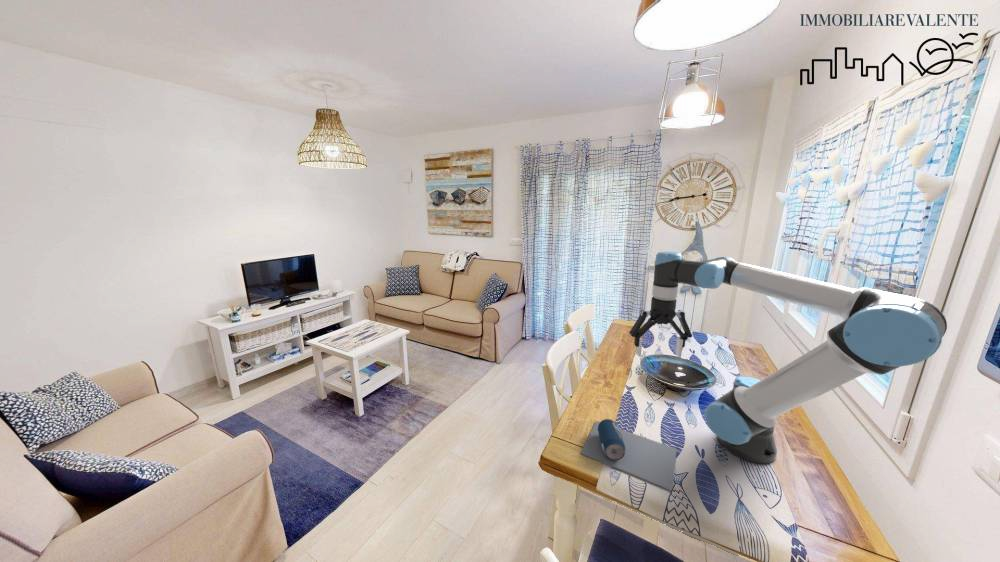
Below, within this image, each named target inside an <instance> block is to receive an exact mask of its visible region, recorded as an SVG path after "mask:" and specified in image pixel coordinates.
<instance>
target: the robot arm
mask: <svg viewBox="0 0 1000 562" xmlns="http://www.w3.org/2000/svg"><path fill="white" fill-rule="evenodd" d="M682 257H683V255H682V253H681V252H676V251H659V252H658V253H656V255H655V260H654V269H653V270H654V272H653V282H652V283H653V284H652V292H651V295H652V297H651V301H650V310H645V309H641V310H640V313H639V316H638V318H637V320H636V321H635V323H634V324H633V326H632V327H631V330H629V334H630V336H631V338H634V341H633V345H634V346H635V347H636V348H635V354H636V355H637V356H638V357H642V348H643V338H642V337H643V336H644V335H645V334H646V333H647V332H648V331H649V330H650V329H651V328H652V327H653V326H655V325H656V324H657V325H663V324H664V325H668V324H670V326H671V327H672V328H673V330H674V331H675V332H676V333H677V334H678V335H679V336H677V337H676V343H675V344H676V345H675V352H674V355H676V356H677V357H678V358H682V352H683V351H682V350H683V348H685V346H686V341H688V340H689V338H690V339H691V338H693V334H692V331H691V329H690V327H689V324H688V322H687V320H686V312H684V311H683V310H681V309H678V310H677V311H676V306H677V297H678V289H679V284H682V285H688V286H691V287H692V286H693V287H698V288H702V289H711V290H716V289H718V288H719V287H720V286H721V285H722V284H725V285H729V286H733V287H736V288H740V289H743V290H746V291H750V292H753V293H757V294H760V295H763V296H766V297H771V298H774V299H777V300H781V301H784V302H787V303H792V304H794V305H798V306H802V307H805V308H808V309H811V310H814V311H819V312H821V313H826V314H829V315H833V316H835V317H838V318H841V319H842V320H843V321H841V322H840V323H838V324H837V325H835V326H833V327H832V328H830V329H829V330H828V331H827V332H826V338H827V340H826V341H824V342H822V343H821V344H819V345H818V346H816V347H814V348H813V349H811V350H809V351H808V352H806V353H804V354H801V356H799V357H798V358H795V359H794V360H793V361H790V362H789V363H787V364H785V365H784V366H782V367H781V368H779V369H777V370H776V371H774V372H772V373H771V374H769V375H767V376H766V377H764V378H762V379H761V380H760V379H758V378H755V377H751V376H750V377H749V376H737V377H735V379H734V380H733V382H732V384H733V386H732V389H731V390H729V391H728V392H726V393H725V394H723V395H722V396H720V397H719V398H717V399H716V400H715V401H711V402H710V403H709V404H708V406H707V407H706V408H705V411H704V417H705V422H706V423H707V425H708V427H709V429H710V430H711V431H712V432H713V433H714V434H715V436H717V439H718V441H719V443H720V444H721V445H722V447H723V448H725V449H726V450H727V451H729V453H732V454H733V455H734V456H736V457H738V458H741V459H742V460H746V461H749V462H752V463H755V464H771V463H773V462H774V461H775V460H776V459H777V453H778V450H777V444H776V441H775V436H774V431H775V426H776V425H777V418H778V417H780V416H781V415H783V414H785V413H788V412H790V411H792V410H794V409H795V408H798V407H800V406H802V405H804V404H806V403H808V402H810V401H812V400H814V399H816V398H818V397H820V396H822V395H824V394H826V393H828V392H830V391H832V390H834V389H836V388H838V387H841V386H842V385H845V384H847V383H848V382H850V381H853V380H854V379H856V378H859V377H860V376H863V375H865V374H867V373H868V374H872V375H873V374H874V375H878V376H883V375H886V374H887V373H889V372H892V371H894V370H897V369H899V368H901V367H907V366H912V365H917V364H919V363H922V362H923V361H925V360H928V359H929V358H931V357H932V356H933V355H934V354H935V353H937V351H938V350H939V348H940V347H941V344H942V341H943V337H944V336H945V334H946V332H947V329H948V322H947V318H946V317H945V315H944V314H943V312H942V311H941V310H940V309H939V308H938V307H937V306H935V305H934V304H933V303H930V301H929V302H928V301H927V300H924V299H921V298H919V297H918V298H917V297H915V296H910V295H905V294H901V293H895V292H890V291H884V290H880V289H875V288H870V287H867V286H866V287H865V286H863V287H860V288H852V287H851V288H850V287H847V286H843V285H838V284H835V283H829V282H825V281H822V280H821V281H820V280H817V279H813V278H809V277H805V276H799V275H796V274H791V273H787V272H783V271H777V270H774V269H770V268H765V267H761V266H758V265H757V266H756V265H752V264H748V263H743V262H739V261H736V260H735V259H734V258H732V257H727V256H725V257H724V256H721V257H719V256H718V257H716V258H712V259H707V260H702V261H695V260H694V261H693V260H686V259H683V258H682ZM649 316H650V317H649ZM648 317H649V318H648ZM675 317H677V318H678V320H679V323H680V324H681V327H682V330H683V331H682V330H681V328H680V327H679V326H678V325H677V323H676V322H675V321H674V318H675ZM647 318H648V319H647ZM646 319H647V321H646ZM645 321H646V322H645Z"/></svg>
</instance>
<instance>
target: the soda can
mask: <svg viewBox="0 0 1000 562" xmlns="http://www.w3.org/2000/svg"><path fill="white" fill-rule="evenodd" d="M599 422H600V423H599V425H598V433H599V437H600V441H601V445H602V450H603V452H604V453H605V455H606V456H607V457H608V458H609V459H611V460H620V459H622V458H623V457H624V454H625V445H624V442H623V439H622V436H621V432H620V429H621V428H620V427H619V425H618V423H617V422H616V421H615V420H612V419H611V418H610V419H609V418H604V419H602V420H600V421H599Z"/></svg>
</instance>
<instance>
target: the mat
mask: <svg viewBox="0 0 1000 562" xmlns="http://www.w3.org/2000/svg"><path fill="white" fill-rule="evenodd" d="M600 422H601V421H598V420H596V421H595V423H594V424H593V426H592V428H591V431H590V433H589V434H588V436H587V439H586V441H585V443H584V445H583V447H582V448H581V451H580V455H581V456H582V455H583V456H584V457H588V458H590V459H592V460H594V461H596V462H599V463H602V464H604V465H606V466H609V467H611V468H613V469H616V470H619V471H621V472H623V473H625V474H627V475H630V476H633V477H635V478H637V479H640V480H642V481H645V482H646V483H649V484H651V485H654V486H656V487H659V488H662V489H664V490H666V491H669V492H673V486H674V478H675V469H676V461H677V460H676V458H677V450H678V449H677V448H675V447H673V446H670V445H667V444H664V443H661V442H659V441H655V440H653V439H650V438H646V437H644V436H641V435H639V434H636V433H633V432H630V431H627V430H623V429H622V428H619V429H620V432H621V436H622V439H623V442H624V445H625V454H624V457H623V458H622V459H620V460H611V459H609V458H608V457H607V456H606V455H605V453H604V452H603V450H602V445H601V441H600V437H599V433H598V425H599V423H600Z"/></svg>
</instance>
